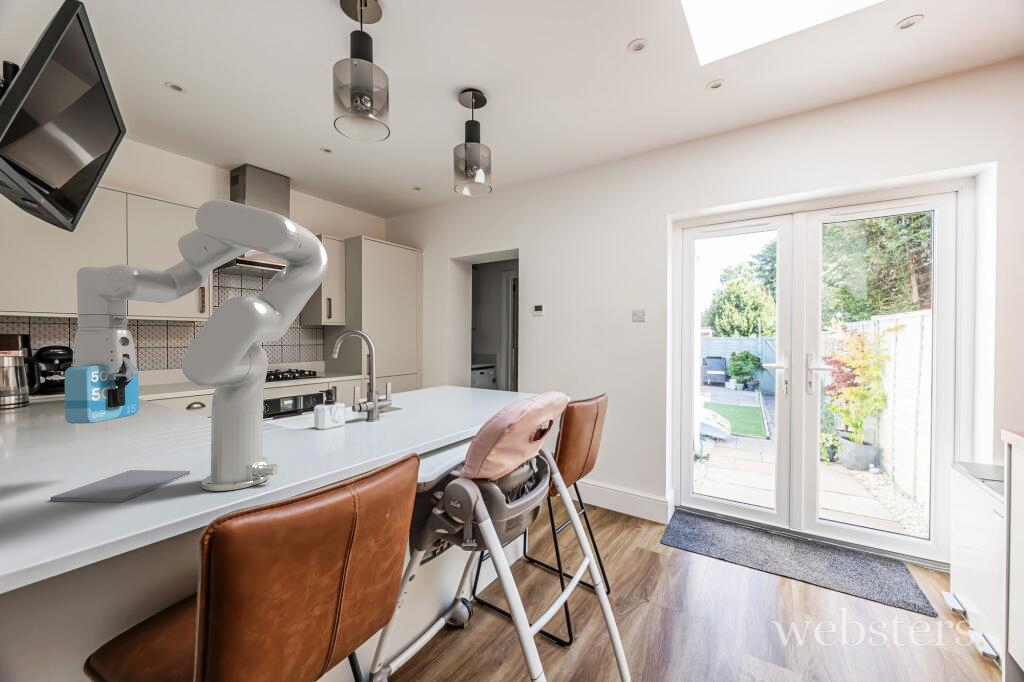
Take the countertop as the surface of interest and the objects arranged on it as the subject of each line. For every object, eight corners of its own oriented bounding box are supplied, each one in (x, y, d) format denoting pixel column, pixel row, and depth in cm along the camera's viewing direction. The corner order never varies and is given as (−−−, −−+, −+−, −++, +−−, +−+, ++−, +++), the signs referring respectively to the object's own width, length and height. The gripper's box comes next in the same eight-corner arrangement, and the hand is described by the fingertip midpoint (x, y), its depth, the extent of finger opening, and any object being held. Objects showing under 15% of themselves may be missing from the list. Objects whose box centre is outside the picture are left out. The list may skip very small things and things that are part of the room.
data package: (87, 424, 82) (86, 366, 82) (64, 425, 82) (63, 366, 82) (139, 413, 94) (138, 363, 94) (119, 414, 94) (118, 363, 94)
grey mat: (189, 474, 93) (189, 470, 93) (122, 502, 77) (122, 498, 77) (130, 473, 93) (130, 470, 93) (50, 501, 77) (50, 496, 77)
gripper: (156, 324, 91) (157, 403, 91) (83, 325, 92) (85, 404, 92) (123, 322, 84) (125, 409, 84) (45, 324, 84) (46, 410, 84)
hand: (104, 405), depth 88 cm, fingers closed on data package, 4 cm apart
